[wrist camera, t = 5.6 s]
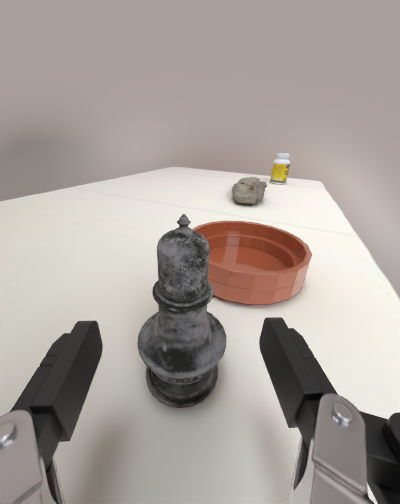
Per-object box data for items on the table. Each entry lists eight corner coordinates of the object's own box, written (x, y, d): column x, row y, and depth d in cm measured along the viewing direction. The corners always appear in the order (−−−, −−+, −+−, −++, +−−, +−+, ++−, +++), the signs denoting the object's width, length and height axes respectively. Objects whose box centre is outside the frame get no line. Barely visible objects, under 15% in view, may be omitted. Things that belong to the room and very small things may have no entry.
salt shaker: (196, 328, 20) (203, 195, 14) (238, 384, 16) (270, 224, 10) (131, 355, 17) (109, 205, 12) (159, 433, 13) (144, 250, 7)
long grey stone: (262, 189, 87) (237, 188, 89) (263, 174, 85) (237, 174, 87) (266, 206, 56) (227, 205, 58) (269, 185, 54) (228, 184, 56)
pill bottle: (281, 185, 89) (288, 154, 84) (267, 182, 93) (272, 153, 88) (288, 183, 94) (294, 154, 88) (274, 181, 97) (279, 152, 92)
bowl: (186, 309, 22) (186, 274, 20) (184, 244, 35) (184, 219, 34) (328, 306, 23) (341, 273, 21) (274, 245, 37) (279, 221, 35)
